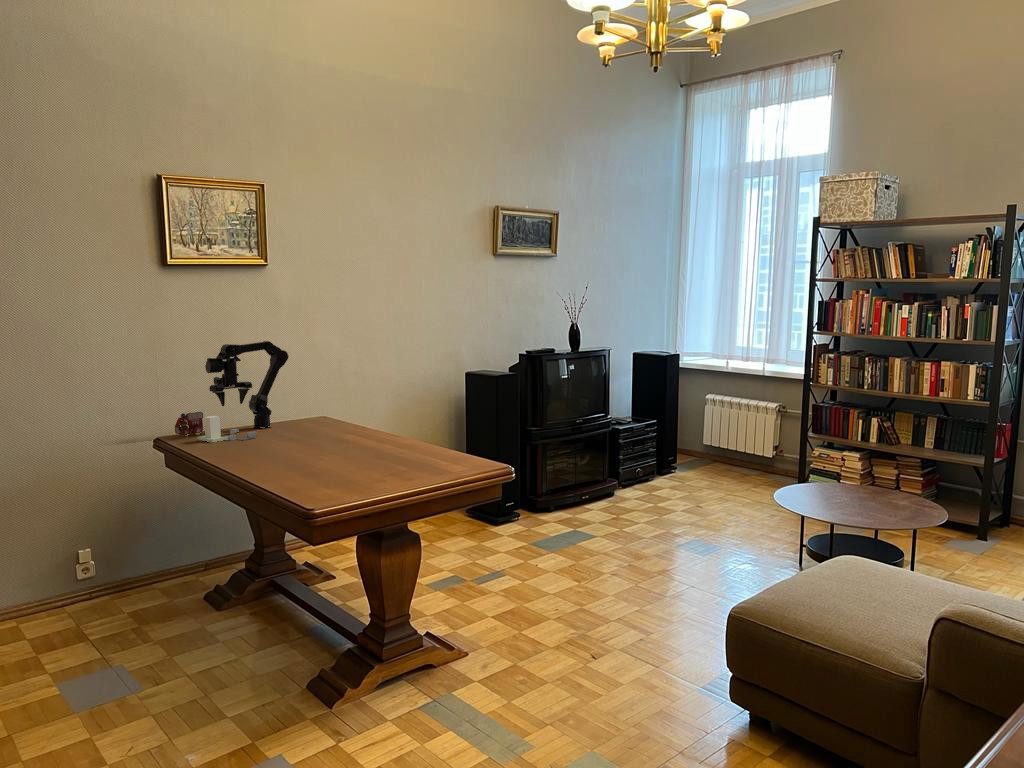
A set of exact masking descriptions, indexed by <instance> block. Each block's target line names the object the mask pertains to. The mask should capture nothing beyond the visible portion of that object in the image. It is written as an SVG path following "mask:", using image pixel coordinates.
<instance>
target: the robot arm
mask: <svg viewBox="0 0 1024 768" xmlns="http://www.w3.org/2000/svg"><path fill="white" fill-rule="evenodd" d="M257 351H265V352H266V354H267V355H269V356H270V357H269V358H270V359H269V367H268V369H267V371H266V374H265V376H264V378H263V381H262V383H261V384H260V388H259V390H258V391H257V393H256V394H252V395H251V397H250V400H249V401H248V408H249V410H250V411H251V412H252V414H253V415H254V419H253V427H256V428H255V429H258V428H260V427H268V426H271V416H272V410H271V409H270V407H268V402H269V401H268V396H269V394H270V392H271V389H272V387H273V386H274V382H275V381H276V378H277V376H278V374H279V371H280V370H281V368H282V367H284V366H285V364H286V362H288V360H289V357H290V356H289V353H288V352H287V351H286V350H285V349H284V350H283V349H281V348H280V347H278V346H277V345H275V344H273V343H272V342H271V341H269V340H264V341H258V342H253V343H245V344H233V343H231V344H229V343H228V344H227V343H226V344H222V346H221V347H220V351H219V353H218V354H217V356H216V358H215V357H214V358H211V357H207V358H206V362H205V367H204V368H205V371H206V373H208V374H217V373H221V377H219V376H215V377H213V384H211V385H210V386H209V392H212V393H213V394H215V395H216V396H217V399H219V402H220V404H221V406H222V407H225V400H226V399H225V398H226V395H225V394H226V393H225V392H226V391H224V390H230V389H237V390H238V392H239V393H238V394H239V395H238V396H239V404H240V405H242V404H243V403H244V401H245V398H246V396H247V394H248V392H249V391H250V390H251V389H253V384H252V382H251V381H246V380H245V381H239V382H238V377H239V375H240V374H239V373H238V370H237V369H238V367H237V362H240V361H241V358H239V357H238V356H239V355H242V354H244V353H251V352H257ZM222 372H223V373H222Z"/></svg>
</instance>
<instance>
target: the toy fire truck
mask: <svg viewBox="0 0 1024 768" xmlns="http://www.w3.org/2000/svg"><path fill="white" fill-rule="evenodd" d="M203 421H204V413H203V412H202V411H198V412H197V411H196V412H189V413H181V414H180V417H178V418H177V420H176V422H175V425H174V432H175V434H176V435H179V436H182V435H187V434H190V435H191V434H192V433H200V432H202V433H203V430H204V423H203Z"/></svg>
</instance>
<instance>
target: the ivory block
mask: <svg viewBox="0 0 1024 768" xmlns="http://www.w3.org/2000/svg"><path fill="white" fill-rule="evenodd" d="M220 418H221V417H220V416H218V415H209V416H203V421H204V423H203V425H204V436H205V438H208V439H215V438H221V437H222V436H221V433H222V432H221V419H220Z"/></svg>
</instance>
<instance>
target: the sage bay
mask: <svg viewBox="0 0 1024 768" xmlns="http://www.w3.org/2000/svg"><path fill="white" fill-rule="evenodd" d="M228 436H229V435H227V436H226V435H225V436H221V438H215V439H208V438H205V435H202V436H197V437H196V440H197V439H199V440H202V441H207V442H210V443H209V444H212V443H211V442H214V443H218V442H217V441H220V442H224V441H223V440H226V441H230V440H229V437H228ZM202 441H201V442H202ZM207 442H206V443H207Z"/></svg>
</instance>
